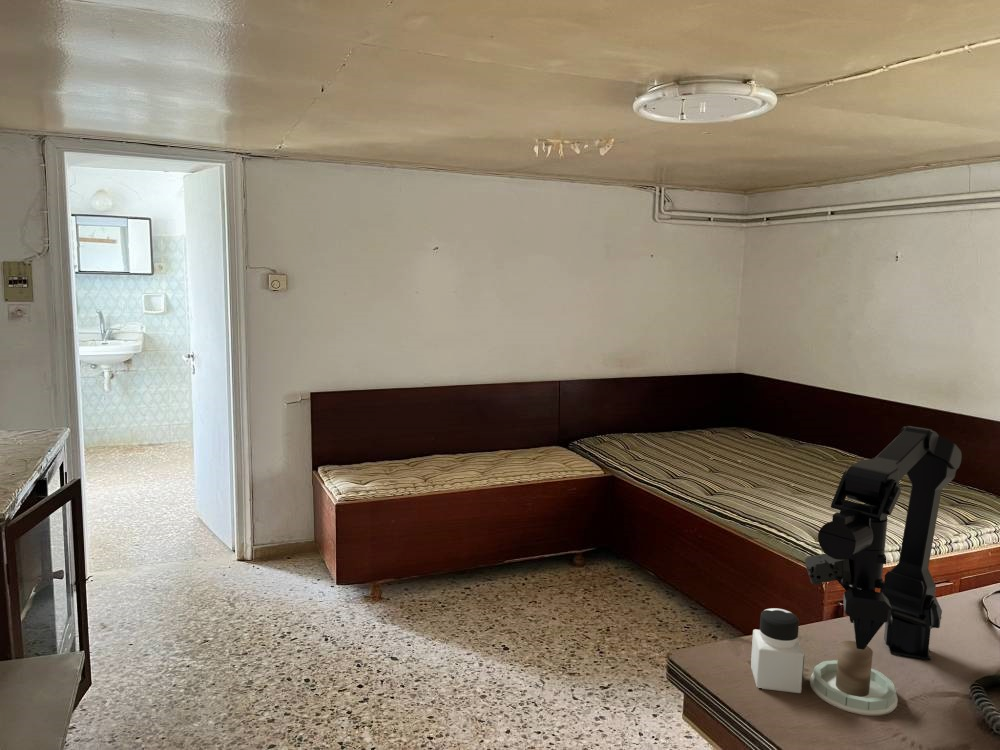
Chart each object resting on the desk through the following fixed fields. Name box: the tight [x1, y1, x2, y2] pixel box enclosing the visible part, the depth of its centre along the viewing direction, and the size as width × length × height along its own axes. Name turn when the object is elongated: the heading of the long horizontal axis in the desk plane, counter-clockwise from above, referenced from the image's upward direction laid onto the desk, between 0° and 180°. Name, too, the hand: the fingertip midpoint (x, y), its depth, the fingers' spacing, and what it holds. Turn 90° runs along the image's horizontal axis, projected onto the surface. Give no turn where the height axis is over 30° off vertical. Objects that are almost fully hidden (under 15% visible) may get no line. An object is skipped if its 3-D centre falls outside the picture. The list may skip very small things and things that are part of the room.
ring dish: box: [809, 659, 899, 716], centre depth 117 cm, size 13×13×2 cm
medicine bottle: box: [750, 607, 805, 694], centre depth 120 cm, size 7×7×12 cm
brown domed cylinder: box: [836, 640, 874, 697], centre depth 117 cm, size 5×5×7 cm
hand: (856, 635), depth 116 cm, fingers open, 9 cm apart
